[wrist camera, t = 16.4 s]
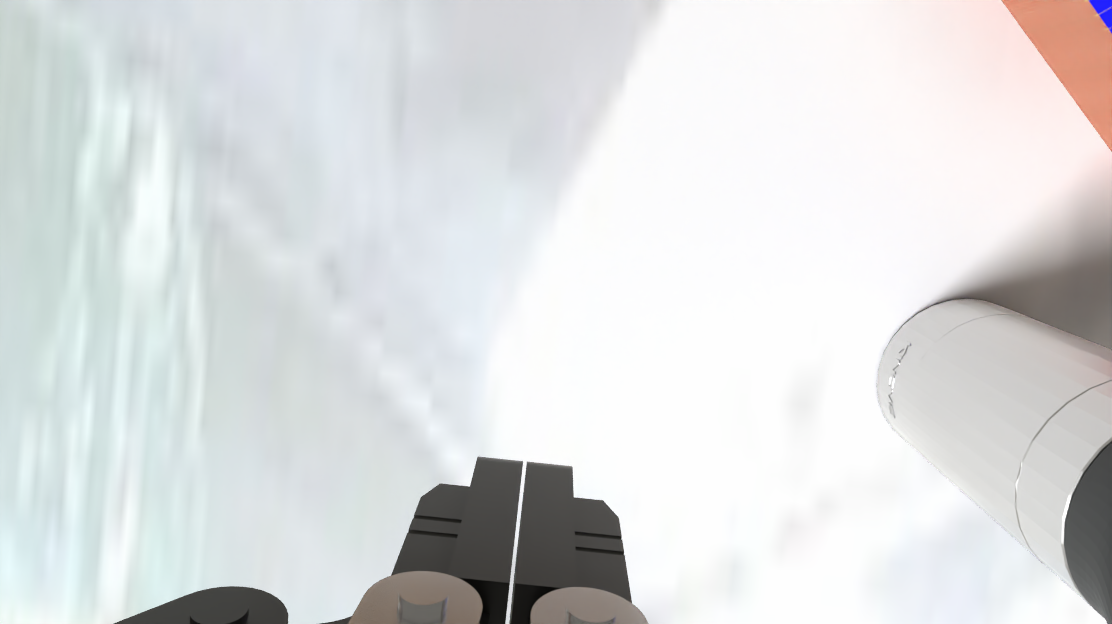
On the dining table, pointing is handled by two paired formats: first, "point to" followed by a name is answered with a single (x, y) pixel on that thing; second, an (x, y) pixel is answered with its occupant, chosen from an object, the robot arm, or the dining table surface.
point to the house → (1075, 50)
